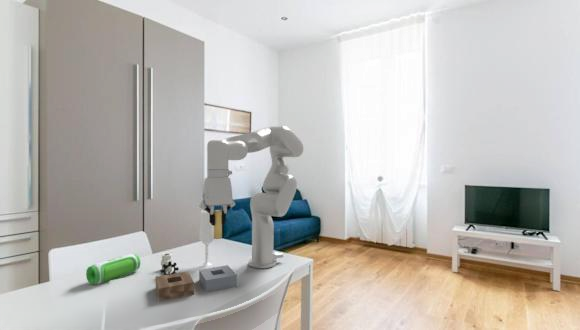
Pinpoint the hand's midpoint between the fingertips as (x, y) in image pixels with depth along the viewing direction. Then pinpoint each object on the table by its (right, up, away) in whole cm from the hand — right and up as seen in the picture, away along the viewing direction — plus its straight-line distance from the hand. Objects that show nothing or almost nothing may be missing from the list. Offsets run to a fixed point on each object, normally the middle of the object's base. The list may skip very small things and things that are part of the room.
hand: (217, 223), depth 113 cm
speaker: (-42, -23, +7) cm, 48 cm away
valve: (-23, -23, +12) cm, 34 cm away
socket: (0, -23, +1) cm, 23 cm away
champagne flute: (-9, -23, +20) cm, 31 cm away
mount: (-13, -23, -7) cm, 27 cm away
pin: (0, -5, 0) cm, 5 cm away
